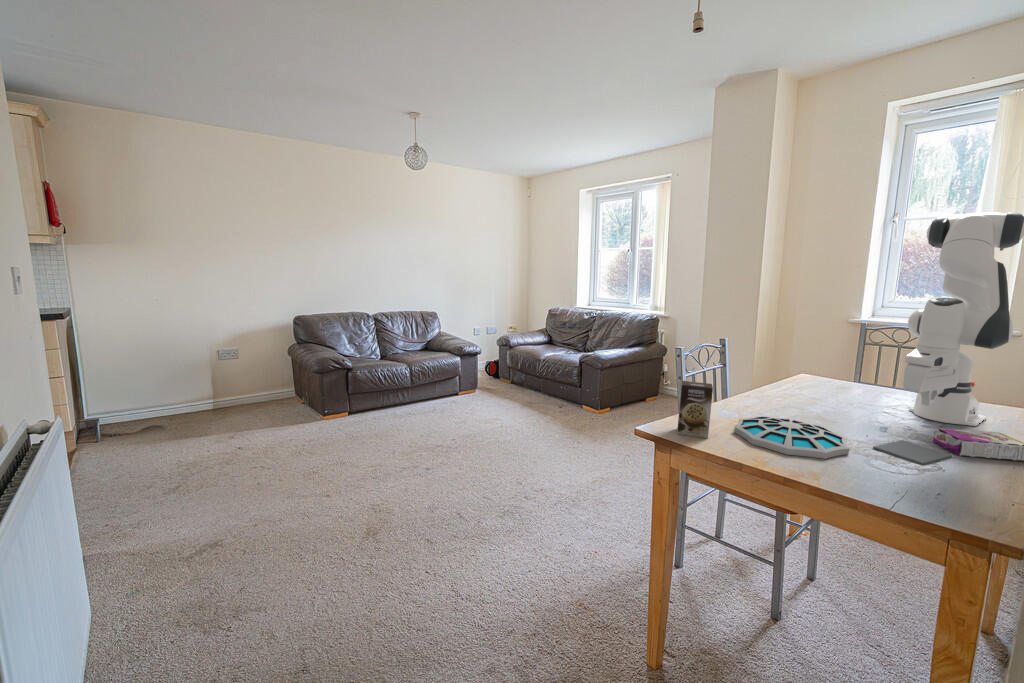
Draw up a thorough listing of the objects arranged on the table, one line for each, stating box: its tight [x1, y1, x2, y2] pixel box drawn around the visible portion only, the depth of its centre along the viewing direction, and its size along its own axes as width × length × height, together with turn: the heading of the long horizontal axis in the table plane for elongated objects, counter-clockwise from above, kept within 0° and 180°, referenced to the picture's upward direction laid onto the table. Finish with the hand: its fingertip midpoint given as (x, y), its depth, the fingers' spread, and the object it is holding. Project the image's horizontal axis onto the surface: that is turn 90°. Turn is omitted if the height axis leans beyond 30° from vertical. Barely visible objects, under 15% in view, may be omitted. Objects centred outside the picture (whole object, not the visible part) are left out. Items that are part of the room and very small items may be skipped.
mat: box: [872, 439, 953, 466], centre depth 129 cm, size 14×12×1 cm
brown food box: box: [676, 380, 714, 439], centre depth 141 cm, size 9×6×16 cm
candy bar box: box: [932, 427, 1024, 462], centre depth 130 cm, size 11×5×16 cm
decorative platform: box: [734, 415, 850, 460], centre depth 139 cm, size 31×29×5 cm
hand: (927, 404), depth 128 cm, fingers closed
